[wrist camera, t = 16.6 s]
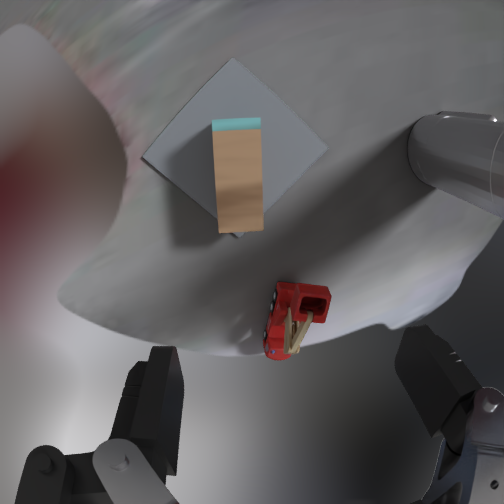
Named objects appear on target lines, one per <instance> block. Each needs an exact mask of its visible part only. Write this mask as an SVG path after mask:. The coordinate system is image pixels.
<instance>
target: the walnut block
mask: <svg viewBox="0 0 504 504" xmlns="http://www.w3.org/2000/svg"><path fill="white" fill-rule="evenodd" d="M212 135H213V153H214V170H215V186H216V200H217V214H218V228H219V233H232V232H249V231H264V226H263V185H262V150H261V119H260V118H234V119H217V120H212Z"/></svg>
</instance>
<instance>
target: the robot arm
mask: <svg viewBox="0 0 504 504" xmlns="http://www.w3.org/2000/svg"><path fill="white" fill-rule="evenodd" d="M408 158H409V162H410V165H411V168H412V170H413V172H414V173H415V175H416V176H417V177H418V178H419V179H420V180H421V181H422V182H424V183H426V184H428V185H431V186H432V187H435V188H438V189H440V190H442V191H445V192H447V193H449V194H451V195H454V196H456V197H458V198H460V199H463V200H465V201H467V202H469V203H471V204H473V205H476V206H478V207H480V208H482V209H484V210H486V211H488V212H490V213H492V214H494V215H496V216H498V217H500V218H502V219H504V122H499V121H497V120H496V118H495V117H494V116H492V115H486V114H476V113H465V112H451V111H442V112H441V113H440V114H439V115H428V116H425V117H423V118H421V119H420V120H419V121H418V122H417V123H416V124H415V125H414V127H413V129H412V130H411V133H410V136H409V140H408ZM395 370H396V373H397V375H398V377H399V379H400V380H401V382H402V384H403V386H404V387H405V390H406V391H407V393H408V395H409V397H410V399H411V400H412V402H413V404H414V406H415V408H416V410H417V412H418V413H419V415H420V417H421V419H422V421H423V423H424V425H425V427H426V429H427V431H428V433H429V434H430V436H431V438H433V437H436V436H438V435H441V434H443V435H444V437H445V438H444V439H443V441H442V443H441V447H440V451H439V456H438V460H437V464H436V468H435V472H434V475H433V479H432V482H431V485H430V487H429V489H428V490H427V492H426V493H425V495H424V496H423V498H422V500H418V501H416V502H413V503H411V504H504V396H503V395H502V393H501V392H499V391H498V390H496V389H494V388H491V387H484V388H482V386H481V385H480V384H479V382H478V381H477V380H476V378H475V377H474V376H473V374H472V373H471V372H470V370H469V369H468V368H467V366H466V365H465V364H464V362H463V361H461V359H460V357H459V356H458V355H457V354H455V351H454V350H453V349H452V347H451V346H450V345H449V343H448V342H446V341H445V340H443V339H442V338H441V337H439V336H437V335H435V334H434V333H433V331H432V330H431V329H430V328H429V327H428V326H427V325H418V326H413V327H408V328H406V330H405V331H404V334H403V337H402V340H401V343H400V346H399V349H398V352H397V355H396V358H395ZM183 399H184V380H183V375H182V371H181V366H180V362H179V358H178V353H177V349H176V347H175V346H153V347H152V349H151V352H150V356H149V360H148V362H147V361H146V362H145V361H138V362H137V363H136V364H135V366H134V367H133V368H132V369H131V370H130V371H129V373H128V376H127V379H126V382H125V387H124V389H123V392H122V397H121V399H120V403H119V406H118V410H117V413H116V417H115V421H114V424H113V428H112V432H111V435H110V437H109V439H108V440H107V441H105V442H104V443H102V444H100V445H99V446H98V448H97V449H96V450H95V451H93V452H90V453H82V454H72V455H63V454H62V452H61V451H60V450H59V449H57V448H55V447H53V446H49V445H43V446H39V447H37V448H35V449H33V451H31V452H30V454H29V455H28V457H27V459H26V463H25V466H24V469H23V473H22V476H21V480H20V484H19V487H18V491H17V496H16V500H15V504H179V502H178V501H177V500H176V499H175V498H174V497H173V495H172V494H171V493H170V491H169V490H168V489H167V488H166V486H165V484H166V475H173V476H176V473H177V460H178V449H179V437H180V428H181V418H182V408H183Z"/></svg>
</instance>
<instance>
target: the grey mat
mask: <svg viewBox="0 0 504 504" xmlns="http://www.w3.org/2000/svg"><path fill="white" fill-rule="evenodd" d="M234 118H260V119H261V150H262V185H263V214H264V213H265V212H266V211H267V210H268V209H269V208H270V207H271V206H272V205H273V204H274V203H275V202H276V201H277V200H278V199H279V198H280V197H281V196H282V195H283V194H284V193H285V192H286V191H287V190H288V189H289V188H290V187H291V186H292V185H293V184H294V183H295V182H296V181H297V180H298V179H299V178H300V177H301V175H302V174H303V173H304V172H305V171H306V170H307V169H308V168H309V167H310V166H311V165H312V164H313V163H314V162H315V161H316V160H317V159H318V158H319V157H320V156H321V155H322V154H323V153H324V152H325V151H326V150H327V149H328V148H329V147H328V146H327V145H326V144H325V143H324V142H323V141H322V140H321V139H320V138H319V137H318V136H317V135H316V133H315V132H314V131H313V130H312V129H311V128H310V127H309V126H308V125H307V124H306V123H305V122H304V121H303V120H302V119H301V118H300V117H299V116H298V115H297V114H296V113H295V112H294V111H293V110H292V109H291V108H289V107H288V106H287V105H286V104H285V103H284V102H283V101H282V100H281V99H280V98H279V97H278V96H277V95H276V94H275V93H274V92H272V91H271V90H270V89H269V88H268V87H267V86H266V85H265V84H264V83H263V82H261V81H260V80H259V79H258V78H257V77H256V76H255V75H253V74H252V73H251V72H250V71H249V70H248V69H246V68H245V67H244V66H243V65H242V64H241V63H239V62H238V61H237V60H236V59H234V58H231V59H230V60H229V61H228V62H227V63H226V64H225V65H224V66H223V67H222V68H221V69H220V70H219V71H218V72H217V73H216V74H215V75H214V76H213V77H212V78H211V79H210V80H209V81H208V82H207V83H206V84H205V85H204V86H203V87H202V88H201V89H200V90H199V91H198V92H197V93H196V94H195V96H194V97H193V98H192V99H191V100H190V101H189V102H188V103H187V104H186V105H185V106H184V108H183V109H182V110H181V111H180V112H179V113H178V114H177V115H176V116H175V118H174V119H173V120H172V121H171V122H170V123H169V125H168V126H167V127H166V128H165V129H164V130H163V132H162V133H161V134H160V135H159V136H158V138H157V139H156V140H155V141H154V142H153V144H152V145H151V146H150V147H149V149H148V150H147V151H146V152H145V154H144V155H143V156H142V157H143V158H144V159H145V160H147V161H148V162H149V163H150V164H151V165H153V166H154V167H155V168H156V169H157V170H159V171H160V172H161V173H162V174H163V175H165V176H166V177H167V178H168V179H169V180H171V181H172V182H173V183H174V184H175V185H177V186H178V187H179V188H180V189H181V190H183V191H184V192H185V193H186V194H187V195H189V196H190V197H191V198H192V199H193V200H195V201H196V202H197V203H198V204H199V205H200V206H202V207H203V208H204V209H205V210H206V211H208V212H209V213H210V214H211V215H212V216H214V217H215V218H216V219H217V220H218V214H217V200H216V186H215V170H214V153H213V135H212V120H217V119H234ZM233 233H234V234H235V235H236V236H237V237H239V238H241V237H242V236H243V235H244V234H245V233H246V232H233Z"/></svg>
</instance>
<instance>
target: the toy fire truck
mask: <svg viewBox="0 0 504 504" xmlns="http://www.w3.org/2000/svg"><path fill="white" fill-rule="evenodd" d="M276 288H277V290H275V291H274V294H273V300H274V301H275V302H271V305H270V314H269V318H268V322H267V326H266V330H265V331H264V339H263V346H264V350H265V354H266V356H267V357H268V358H270V359H273V360H285V359H287V358H289V357H290V356H291V354H297V353H299V350H300V343H301V341H302V339H303V338H304V336H305V334H306V332H307V330H308V328H309V326H310V324H311V322H314V323H325V320H326V317H327V313H328V310H329V305H330V301H331V294H330V291H329V289H328V287H327V286H320V285H311V284H302V283H297V284H296V283H287V282H278V283H277V286H276ZM299 324H300V325H299Z"/></svg>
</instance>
